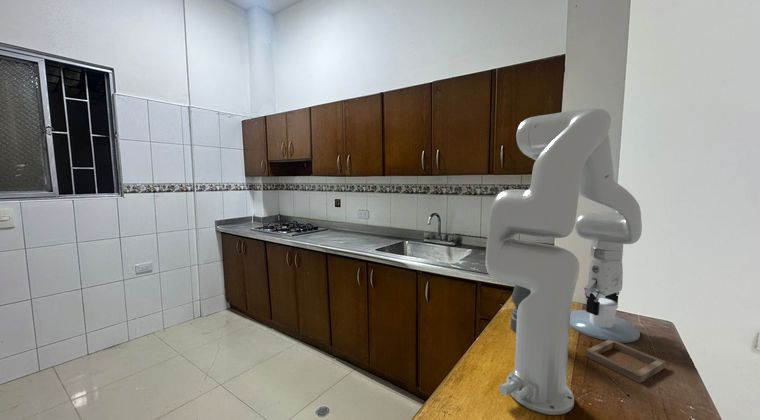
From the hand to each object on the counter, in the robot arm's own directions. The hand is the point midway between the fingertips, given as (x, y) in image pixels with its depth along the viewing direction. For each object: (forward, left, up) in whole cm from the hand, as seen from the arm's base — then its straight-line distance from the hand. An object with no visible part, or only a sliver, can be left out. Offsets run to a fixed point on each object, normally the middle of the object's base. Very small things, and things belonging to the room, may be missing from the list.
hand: (601, 310), depth 92 cm
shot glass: (0, 0, -4) cm, 4 cm away
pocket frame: (-14, -12, -5) cm, 19 cm away
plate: (0, 0, -5) cm, 5 cm away
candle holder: (-22, +10, -5) cm, 25 cm away
